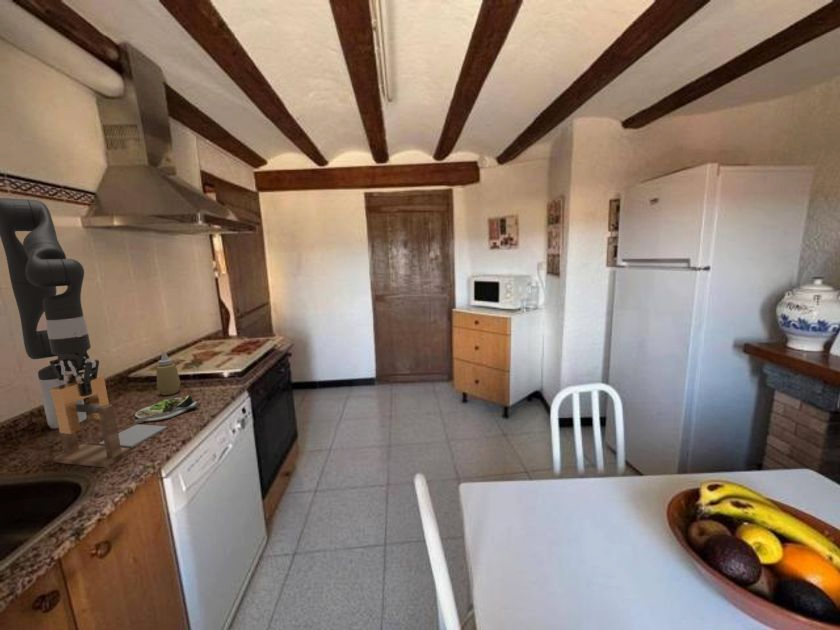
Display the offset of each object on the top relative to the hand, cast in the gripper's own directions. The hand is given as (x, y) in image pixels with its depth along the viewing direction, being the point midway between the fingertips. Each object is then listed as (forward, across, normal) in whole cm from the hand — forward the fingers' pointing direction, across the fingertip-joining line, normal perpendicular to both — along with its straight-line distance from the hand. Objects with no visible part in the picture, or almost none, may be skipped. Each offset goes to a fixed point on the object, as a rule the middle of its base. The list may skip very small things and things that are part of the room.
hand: (81, 394), depth 96 cm
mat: (+19, 0, +12) cm, 22 cm away
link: (+9, 0, 0) cm, 9 cm away
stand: (+19, 0, 0) cm, 19 cm away
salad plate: (+20, -5, +30) cm, 36 cm away
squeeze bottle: (+19, -20, +45) cm, 53 cm away
